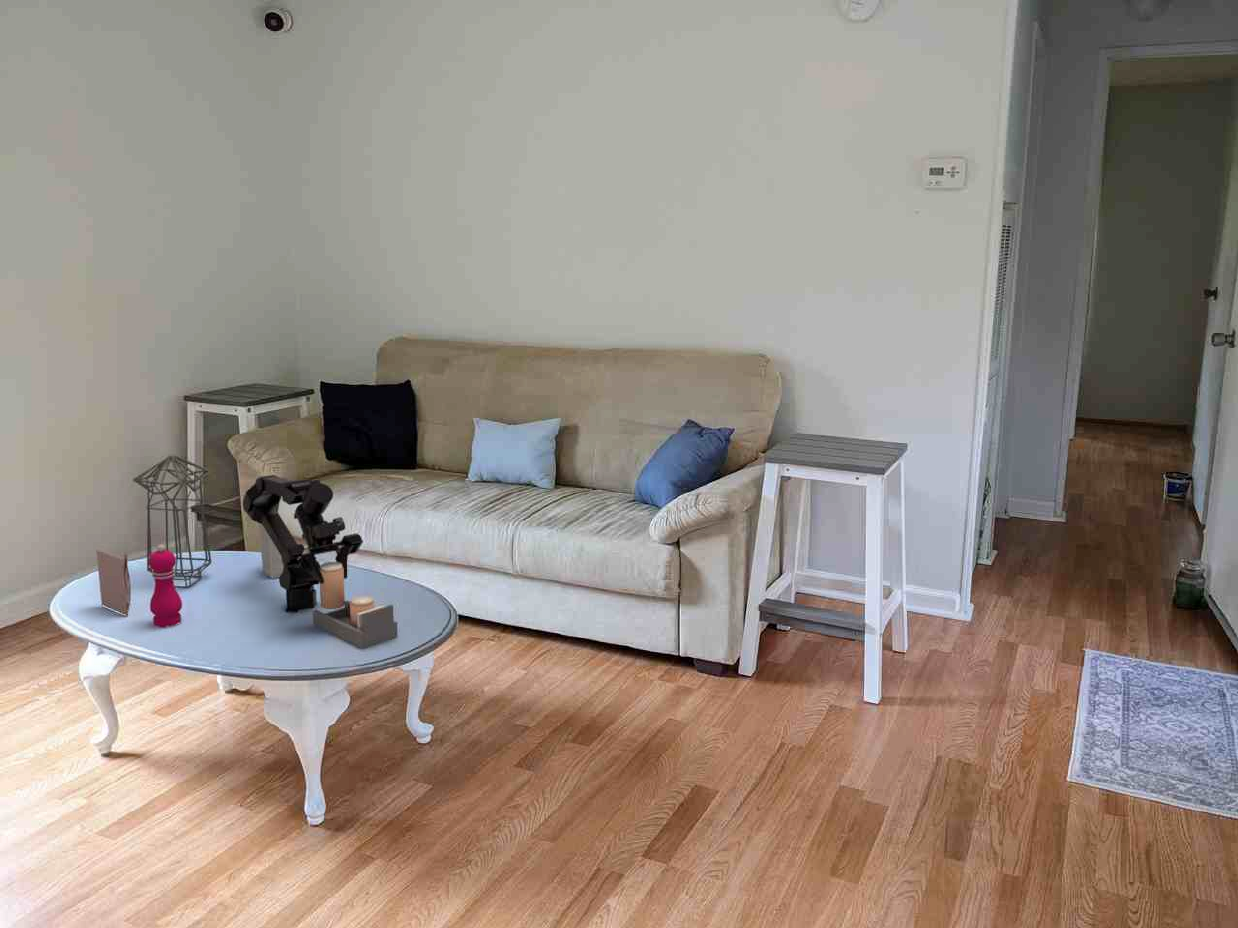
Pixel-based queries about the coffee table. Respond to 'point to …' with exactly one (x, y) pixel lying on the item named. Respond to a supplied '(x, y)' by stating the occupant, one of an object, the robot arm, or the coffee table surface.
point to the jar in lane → (360, 607)
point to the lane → (374, 629)
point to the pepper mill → (164, 589)
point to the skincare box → (270, 555)
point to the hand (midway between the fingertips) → (334, 580)
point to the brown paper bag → (114, 582)
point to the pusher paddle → (360, 618)
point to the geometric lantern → (160, 467)
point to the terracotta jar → (332, 585)
